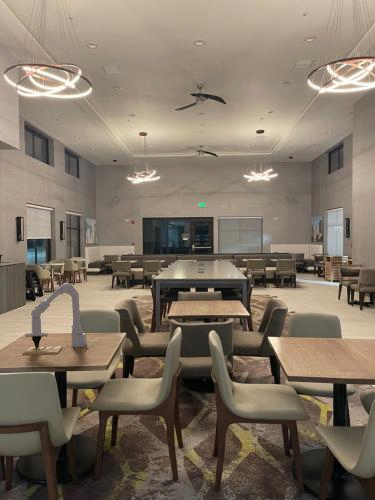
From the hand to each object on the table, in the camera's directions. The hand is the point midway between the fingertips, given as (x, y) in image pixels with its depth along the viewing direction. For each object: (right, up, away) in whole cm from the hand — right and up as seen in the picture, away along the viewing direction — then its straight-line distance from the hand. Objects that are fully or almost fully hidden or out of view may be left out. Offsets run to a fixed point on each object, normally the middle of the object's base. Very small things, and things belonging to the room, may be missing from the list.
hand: (37, 347), depth 268 cm
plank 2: (+11, -1, -1) cm, 11 cm away
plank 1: (0, -1, -1) cm, 2 cm away
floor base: (+6, -2, -4) cm, 7 cm away
